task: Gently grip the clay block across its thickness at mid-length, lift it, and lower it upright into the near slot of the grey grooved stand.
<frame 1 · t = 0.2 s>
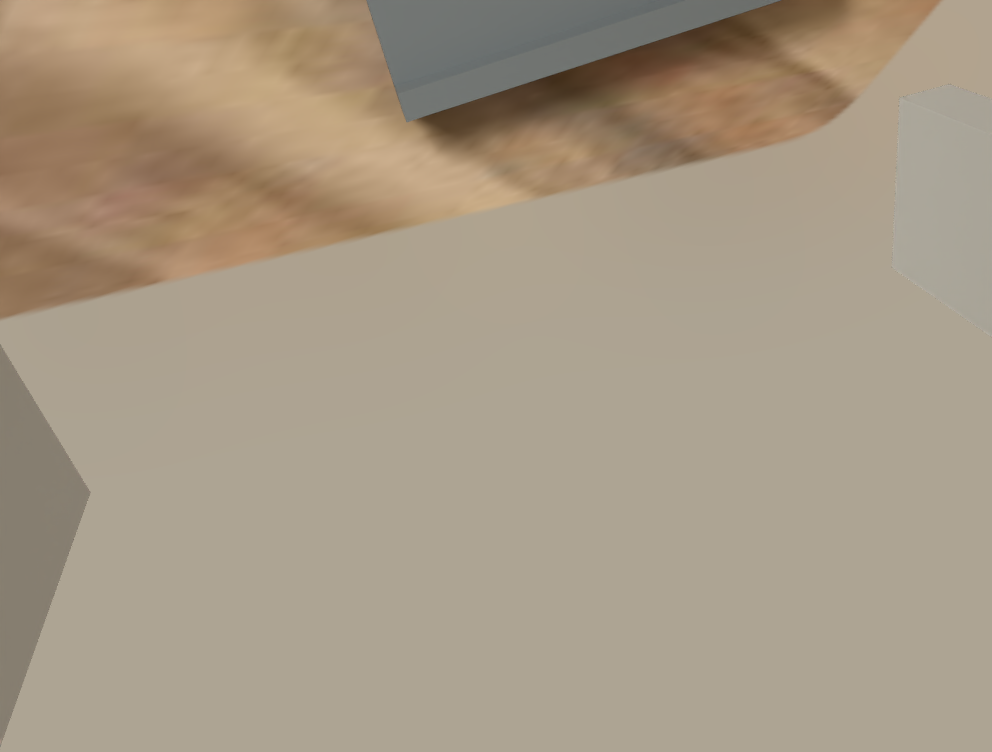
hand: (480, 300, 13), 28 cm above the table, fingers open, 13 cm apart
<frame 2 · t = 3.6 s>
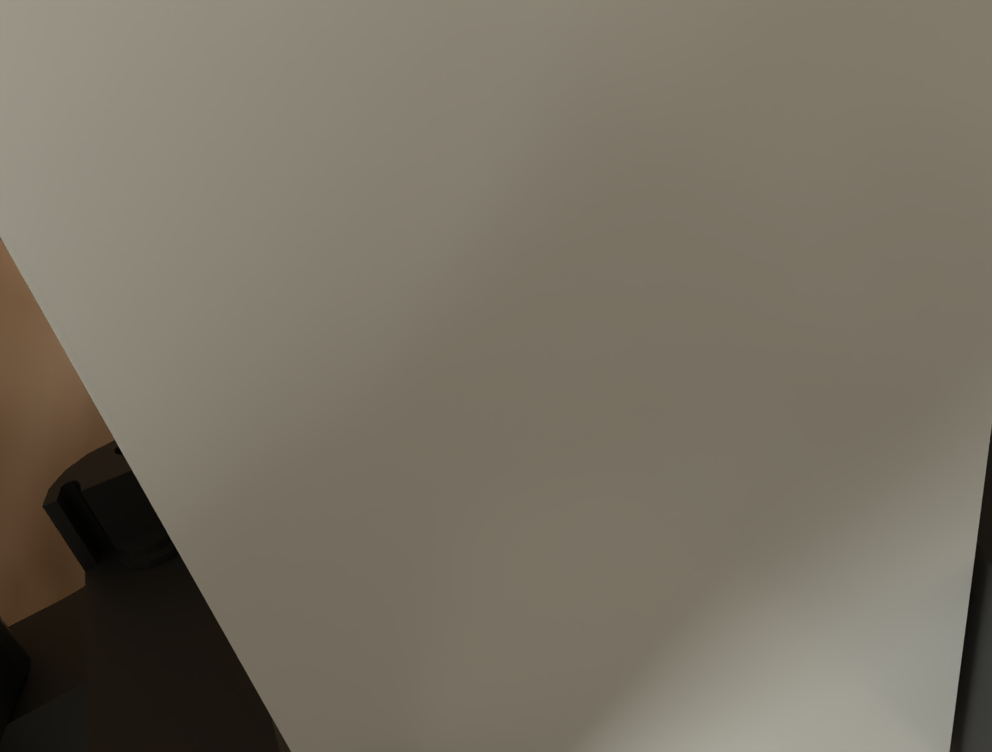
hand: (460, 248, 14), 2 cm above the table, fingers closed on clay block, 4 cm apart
clay block: (442, 202, 16), on the table, touching gripper
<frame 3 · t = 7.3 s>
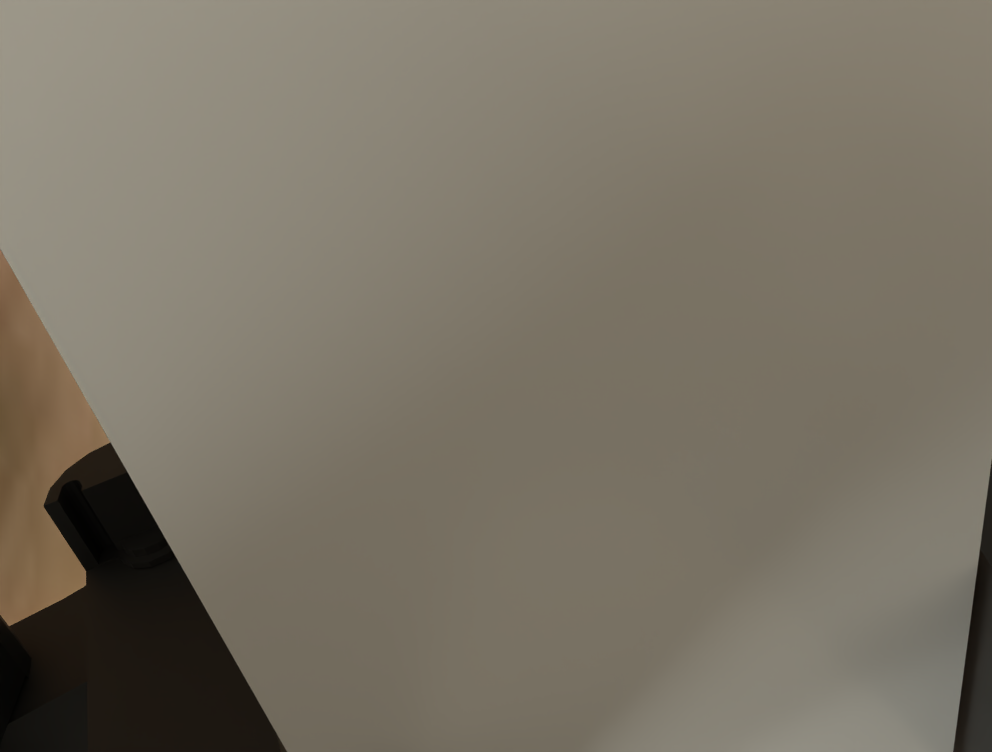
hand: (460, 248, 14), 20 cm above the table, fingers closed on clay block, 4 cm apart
clay block: (443, 203, 16), point 18 cm above the table, touching gripper
when the fingers open (4 cm above the table, at t = 10.5 s): clay block stays where it is, resting on grey grooved stand.
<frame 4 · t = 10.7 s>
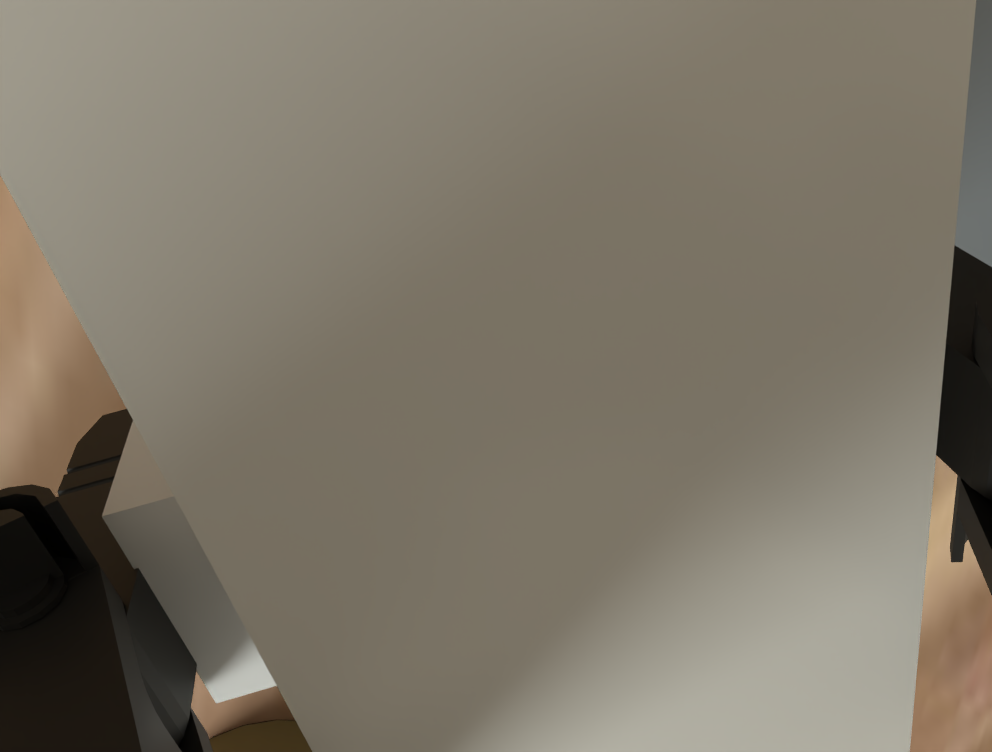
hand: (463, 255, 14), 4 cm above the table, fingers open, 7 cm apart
clay block: (438, 197, 17), point 1 cm above the table, touching grey grooved stand
grey grooved stand: (657, 119, 18), on the table
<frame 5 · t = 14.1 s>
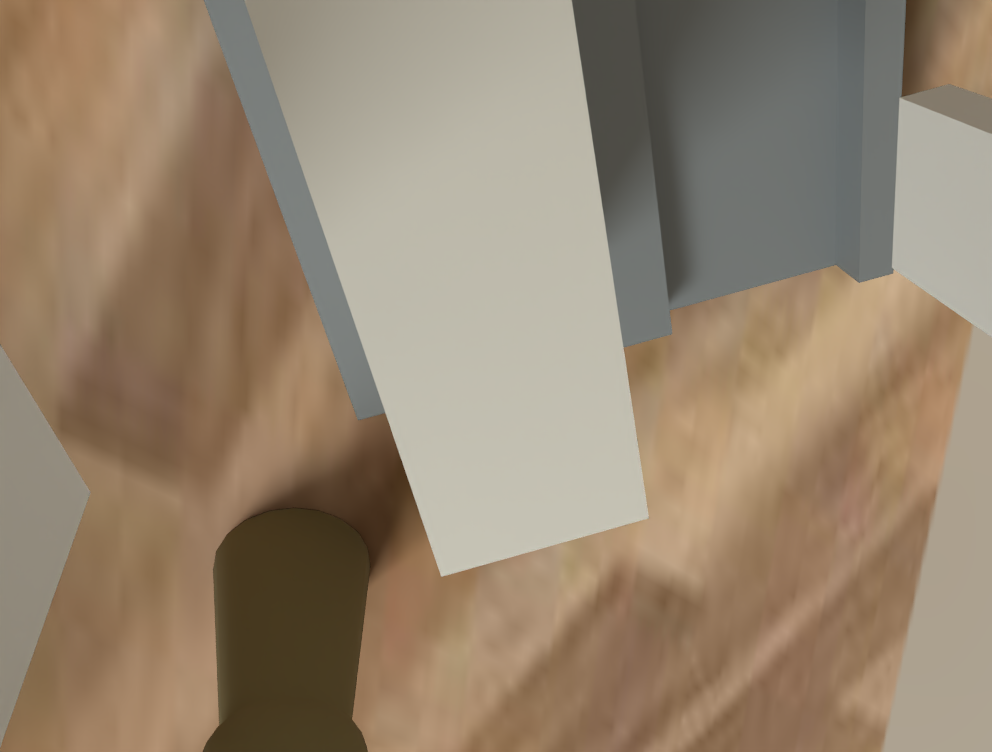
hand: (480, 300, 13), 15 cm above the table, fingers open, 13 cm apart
clay block: (409, 84, 24), point 1 cm above the table, touching grey grooved stand
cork: (293, 564, 34), on the table
grey grooved stand: (563, 35, 25), on the table
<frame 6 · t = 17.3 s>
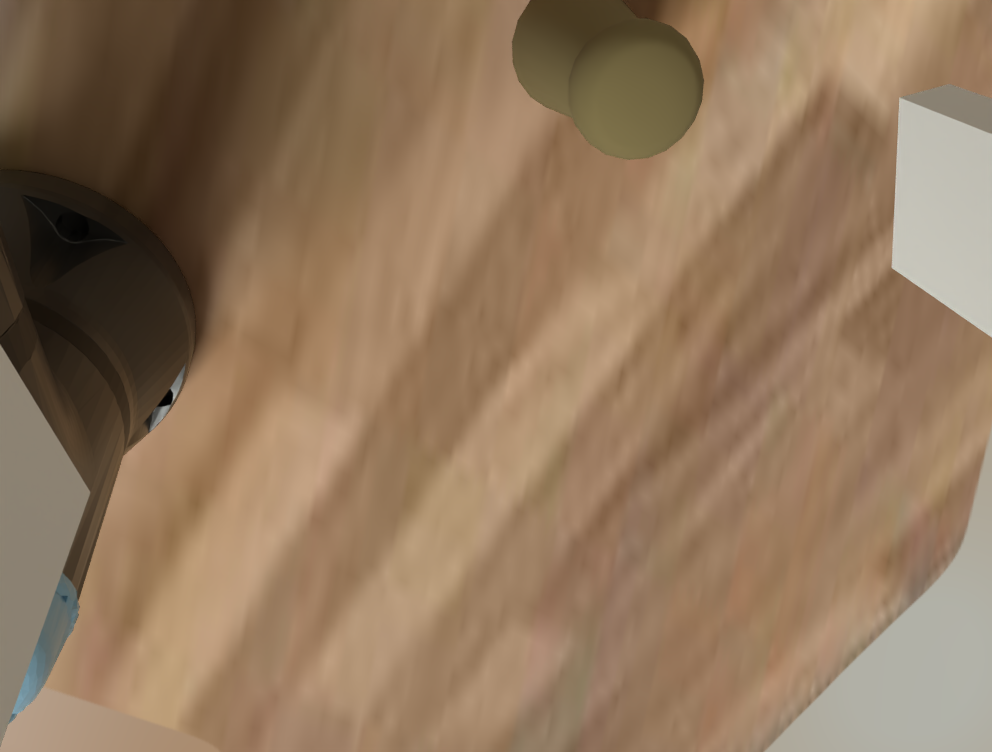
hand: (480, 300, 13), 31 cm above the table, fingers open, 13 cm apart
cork: (572, 46, 41), on the table
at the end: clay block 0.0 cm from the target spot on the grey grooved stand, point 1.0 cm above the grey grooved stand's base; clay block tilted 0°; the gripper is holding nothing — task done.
